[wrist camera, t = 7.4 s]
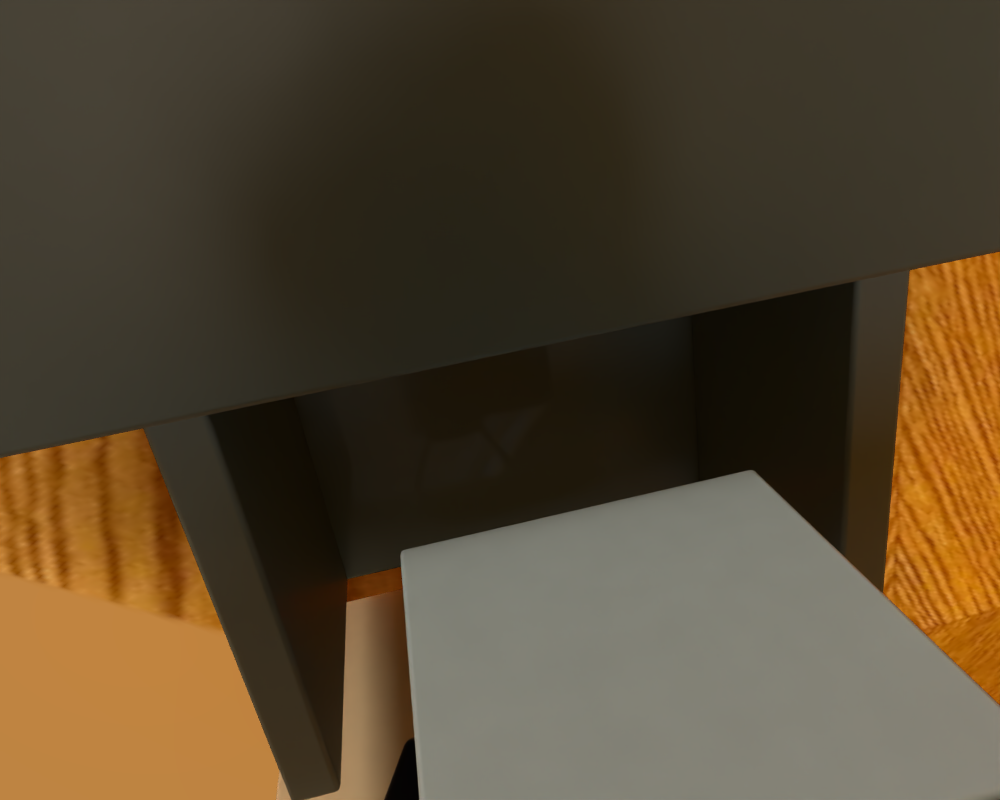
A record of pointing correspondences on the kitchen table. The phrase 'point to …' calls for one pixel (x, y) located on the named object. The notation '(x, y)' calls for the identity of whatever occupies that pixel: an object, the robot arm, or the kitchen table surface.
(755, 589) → the block
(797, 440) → the drawer
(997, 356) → the kitchen table surface
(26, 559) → the kitchen table surface
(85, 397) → the cabinet
